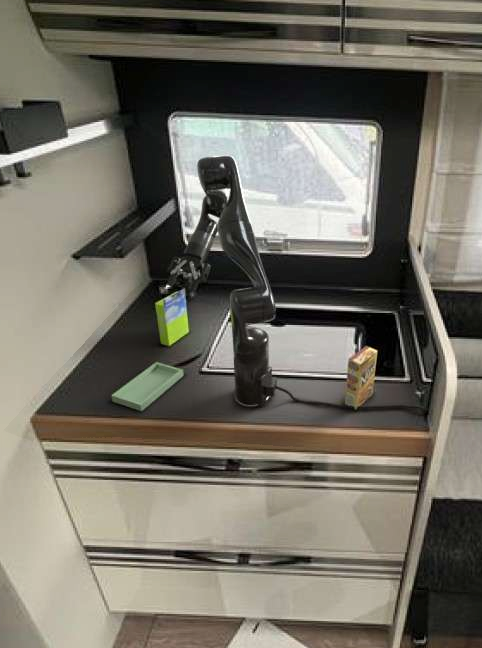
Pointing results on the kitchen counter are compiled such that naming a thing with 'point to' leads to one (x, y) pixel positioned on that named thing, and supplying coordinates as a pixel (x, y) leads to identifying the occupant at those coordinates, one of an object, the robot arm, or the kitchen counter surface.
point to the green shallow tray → (147, 386)
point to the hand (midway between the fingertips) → (180, 288)
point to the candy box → (360, 377)
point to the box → (172, 317)
